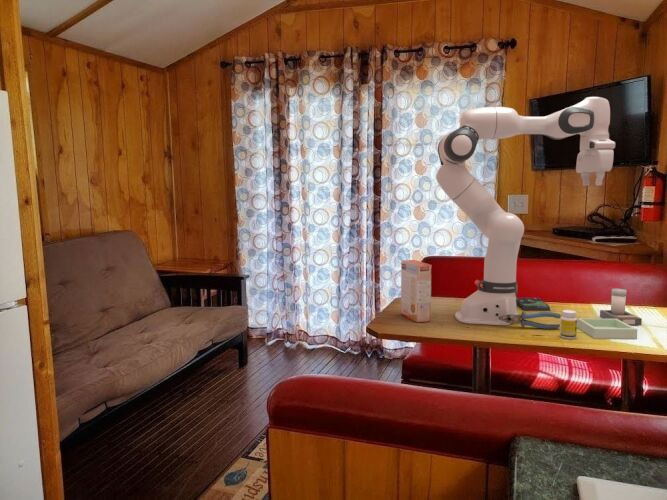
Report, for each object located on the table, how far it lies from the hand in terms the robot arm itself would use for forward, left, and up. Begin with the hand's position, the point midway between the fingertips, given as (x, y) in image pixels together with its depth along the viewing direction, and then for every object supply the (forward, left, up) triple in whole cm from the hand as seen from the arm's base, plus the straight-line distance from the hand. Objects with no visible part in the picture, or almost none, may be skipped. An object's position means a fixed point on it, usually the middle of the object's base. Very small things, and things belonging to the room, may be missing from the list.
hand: (591, 185), depth 174 cm
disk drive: (-13, +20, -49) cm, 54 cm away
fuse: (+11, 0, -48) cm, 49 cm away
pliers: (-24, -12, -48) cm, 55 cm away
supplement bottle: (-15, -22, -48) cm, 55 cm away
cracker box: (-61, +1, -48) cm, 78 cm away
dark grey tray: (+11, -2, -48) cm, 49 cm away
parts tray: (-1, -17, -48) cm, 51 cm away
